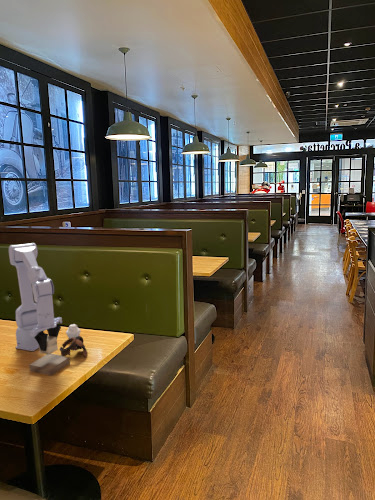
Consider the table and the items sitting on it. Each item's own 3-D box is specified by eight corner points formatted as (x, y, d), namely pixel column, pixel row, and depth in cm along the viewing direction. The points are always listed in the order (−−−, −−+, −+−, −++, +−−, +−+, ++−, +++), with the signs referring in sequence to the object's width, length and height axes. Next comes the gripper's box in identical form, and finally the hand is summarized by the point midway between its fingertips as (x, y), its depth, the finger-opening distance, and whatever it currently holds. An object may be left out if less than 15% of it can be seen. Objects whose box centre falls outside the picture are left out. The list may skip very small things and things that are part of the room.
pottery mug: (85, 361, 146) (73, 346, 143) (66, 370, 148) (53, 355, 145) (93, 341, 156) (82, 327, 153) (75, 349, 159) (64, 336, 156)
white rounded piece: (65, 337, 167) (64, 323, 166) (79, 335, 170) (78, 320, 168) (67, 343, 162) (66, 327, 160) (82, 340, 164) (80, 325, 163)
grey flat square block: (30, 372, 138) (29, 364, 138) (49, 360, 147) (48, 353, 147) (51, 377, 134) (51, 369, 134) (69, 364, 144) (69, 357, 143)
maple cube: (39, 352, 138) (38, 340, 138) (48, 347, 143) (47, 335, 142) (49, 354, 137) (48, 341, 136) (57, 349, 141) (56, 336, 140)
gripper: (39, 320, 129) (43, 357, 131) (67, 307, 142) (70, 341, 145) (23, 318, 131) (27, 354, 134) (52, 305, 145) (55, 338, 147)
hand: (48, 347), depth 139 cm, fingers closed on maple cube, 4 cm apart
